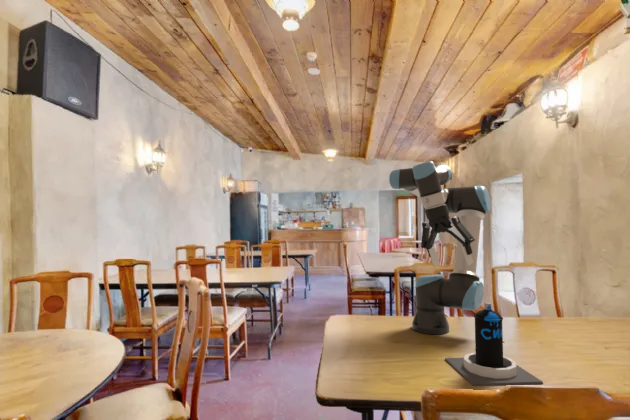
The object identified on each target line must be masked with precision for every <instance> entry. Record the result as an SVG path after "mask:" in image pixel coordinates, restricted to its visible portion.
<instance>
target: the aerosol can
mask: <svg viewBox="0 0 630 420" xmlns="http://www.w3.org/2000/svg"><path fill="white" fill-rule="evenodd" d="M483 305H484V308H483V309H481V310H478V311H477V312H476V313H475V314H474V315H473V317H474V333H475V334H474V336H475V338H474V344H475V345H474V348H475V353H476V364H477V365H480V366H484V367H490V368H503V356H504V343H503V342H504V341H503V340H504V339H503V338H504V336H503V320H504V317H503V316H502V315H501V314H500V313H499V312H497V311H495V310H494V309H492V303H491V302H484V304H483Z"/></svg>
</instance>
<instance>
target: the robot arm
mask: <svg viewBox="0 0 630 420" xmlns="http://www.w3.org/2000/svg"><path fill="white" fill-rule="evenodd" d="M388 177H389V178H388V179H389V181H388V182H389V184H390V185H389V186H390V187H391V188H392V189H395V190H397V189H398V190H401V189H403V190H405V191H407V192H409V193H410V194H413V195H415V196H416V197H418V198H420V200H421V203H422V206H423V208H424V213H425V216H426V219H427V220H426V221H424V222H422V223H421V226H422V232H421V233H422V234H421V244H420V247H421V249H426V250H427V253H428V257H429V258H430V259H431V263H432V266H433V267H435V268H436V267H438V266H440V265H441V264H440V259H439V257H438V254H437V250H436V248H435V246H434V243H435V240H436V238H437V235H438V234H440V233H448V234H450V235H451V236H452V237H454V239H456V247H455V256H454V264H453V271H451V272H450V273H449V275H448V278H445V276H444V274H441V273H440V274H426V275H420V276H417V277H416V279H415V314H414V316H413V321H412V323H411V325H412V326H411V327H412V328H411V329H412V330H413V331H415V332H417V333H421V334H425V335H444V334H447V333H449V332H450V325H449V324H450V323H449V322H448V319H447V315H446V311H445V308H449V309H458V310H464V311H476V310H478V309H479V308H480V307H481V305H482V302H483V298H484V294H485V290H484V289H485V288H484V287H485V286H484V283H483V282H482V281H481V280H480V276H478V274H477V266H478V256H479V255H478V253H479V244H480V231H481V221H482V220H484V219H485V217H486V213H489V212H491V209H492V208H491V207H492V204H491V203H492V202H491V197H490V193H489V190H488V188H487V187H485V186H484V185H472V186H462V187H461V186H460V187H459V186H458V187H444V188H443V187H442V186H444V185H445V184H447V183H448V182H449V181H450V180H451V178H452V170H451V168H450V167H449V166H448V165H447V164H441V163H440V164H435V163H434V162H433V160H429V161H426V162H422V163H419V164H416V165H413V166H412V167H409V168H399V169H395V170H392V171H390V173H389V176H388ZM450 214H456V215H455V216H453V217H450ZM430 228H431V229H430Z"/></svg>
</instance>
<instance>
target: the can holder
mask: <svg viewBox="0 0 630 420" xmlns="http://www.w3.org/2000/svg"><path fill="white" fill-rule="evenodd" d="M444 360H445V361H446V363H448V364H449V365H450V366H451V367H452V368H453V369H454V370H455V371H456V372H458V374H459V375H461V376H462V377H463V378H464V379H465V380H466V381H467V382H468V383H469V384H471V385H472V386H474V387H477V386H478V387H479V386H509V384H518V385H543V384H544V382H543V381H542V380H541V379H539V378H538V377H536V376H535V375H533V374H532V373H530V372H528V371H527V370H525V369H523V368H522V367H521V366H519V365H518V364H517V361H514V359H512V358H510V357H507V356H504V355H503V368H490V367H484V366H480V365H477V364H476V352H471V353H467V354H465V355H464V357H445V358H444Z"/></svg>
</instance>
